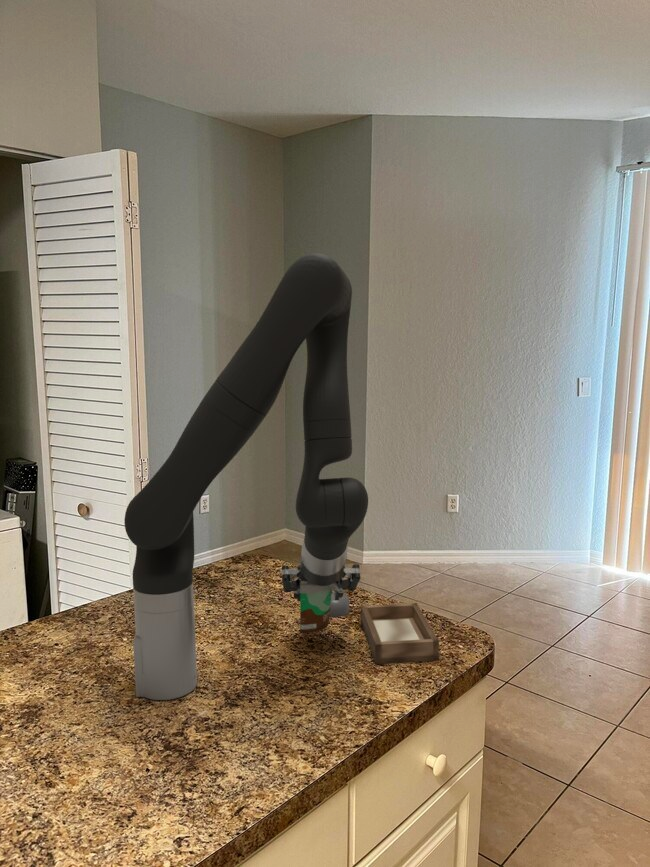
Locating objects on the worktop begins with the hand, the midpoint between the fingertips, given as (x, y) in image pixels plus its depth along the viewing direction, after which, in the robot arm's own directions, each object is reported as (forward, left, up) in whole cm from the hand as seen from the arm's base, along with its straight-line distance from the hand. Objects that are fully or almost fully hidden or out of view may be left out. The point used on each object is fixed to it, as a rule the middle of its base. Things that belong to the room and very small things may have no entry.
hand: (317, 595), depth 128 cm
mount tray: (+14, -3, -8) cm, 17 cm away
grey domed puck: (+4, +12, -8) cm, 15 cm away
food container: (0, -2, -5) cm, 5 cm away
